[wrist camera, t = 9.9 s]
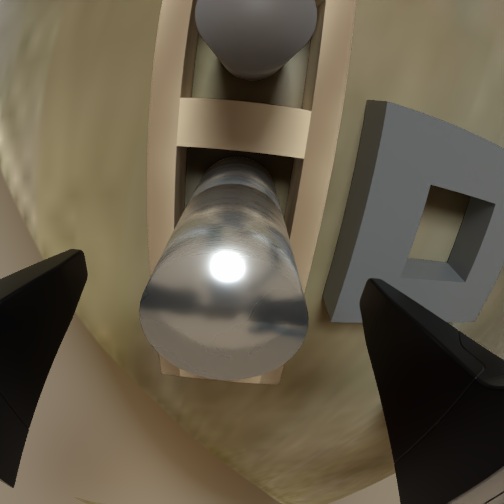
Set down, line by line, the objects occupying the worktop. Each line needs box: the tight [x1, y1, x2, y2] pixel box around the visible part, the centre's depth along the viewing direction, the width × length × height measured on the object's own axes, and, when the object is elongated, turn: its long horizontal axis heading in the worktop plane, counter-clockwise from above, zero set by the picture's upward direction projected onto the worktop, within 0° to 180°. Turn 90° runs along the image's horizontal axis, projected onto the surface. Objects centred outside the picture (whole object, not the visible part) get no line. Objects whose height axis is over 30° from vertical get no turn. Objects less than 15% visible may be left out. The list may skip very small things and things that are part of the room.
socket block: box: [323, 100, 504, 323], centre depth 15 cm, size 12×12×2 cm
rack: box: [147, 0, 356, 384], centre depth 13 cm, size 8×24×7 cm, turn 173°
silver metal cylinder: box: [139, 157, 308, 380], centre depth 11 cm, size 4×4×10 cm
